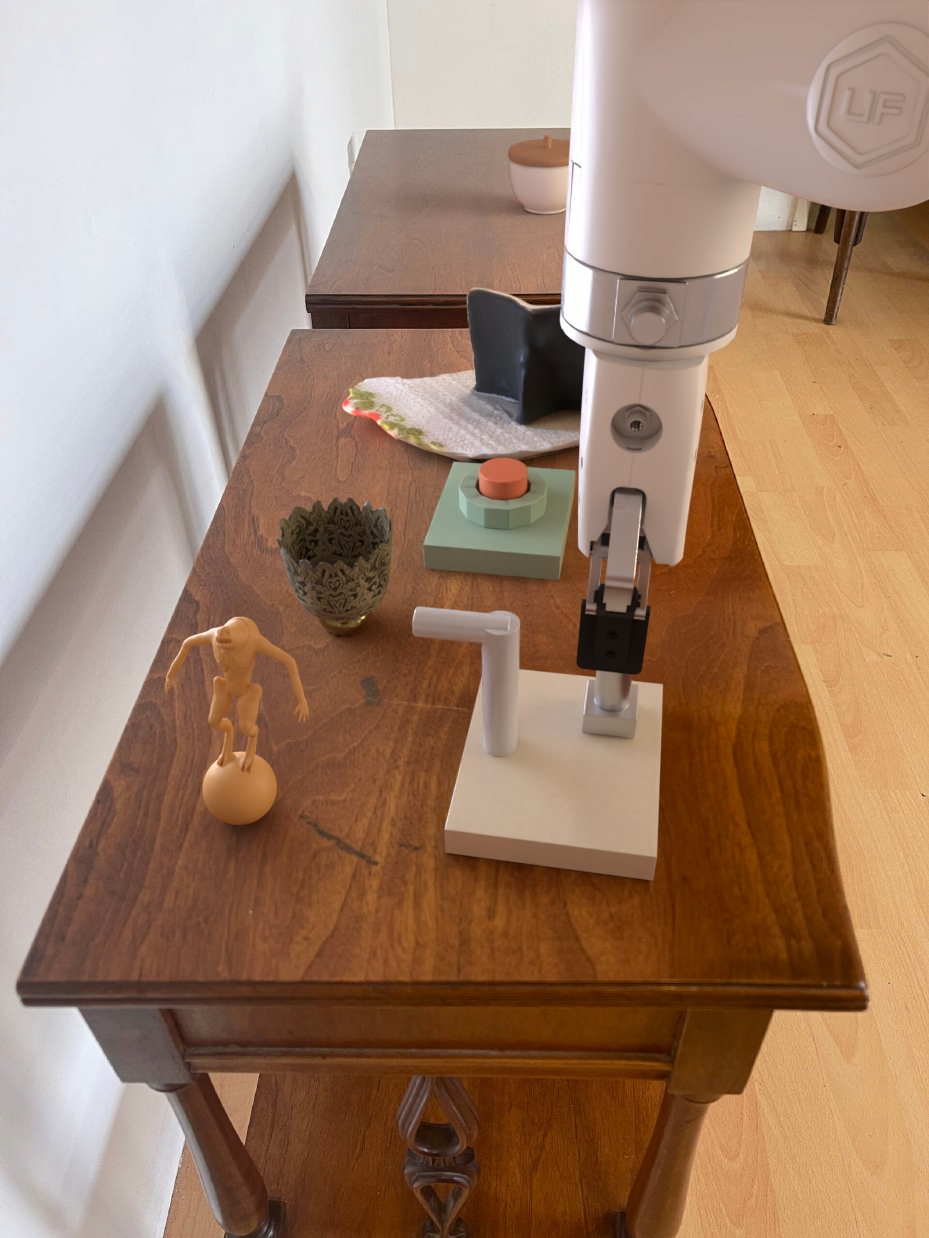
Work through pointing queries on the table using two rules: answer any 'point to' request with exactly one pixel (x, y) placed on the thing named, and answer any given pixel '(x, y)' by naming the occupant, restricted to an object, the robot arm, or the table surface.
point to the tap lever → (611, 705)
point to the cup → (338, 561)
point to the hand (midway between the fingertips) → (614, 607)
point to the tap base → (547, 763)
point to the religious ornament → (489, 389)
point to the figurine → (239, 779)
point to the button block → (501, 525)
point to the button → (503, 479)
